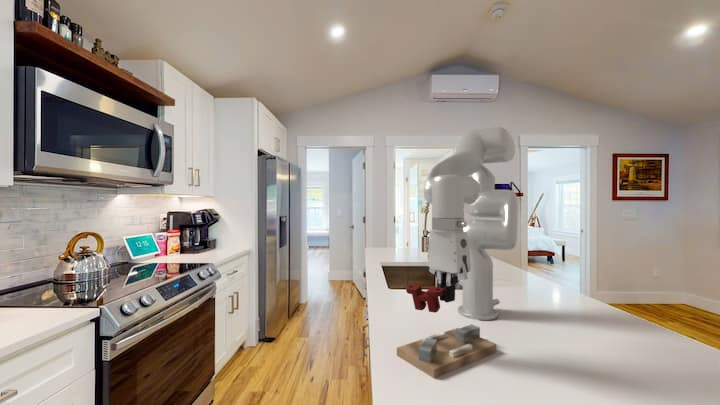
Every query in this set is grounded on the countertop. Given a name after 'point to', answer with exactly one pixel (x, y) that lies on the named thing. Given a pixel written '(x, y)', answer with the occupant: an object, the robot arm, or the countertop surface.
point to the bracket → (425, 297)
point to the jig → (447, 350)
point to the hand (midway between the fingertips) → (447, 300)
